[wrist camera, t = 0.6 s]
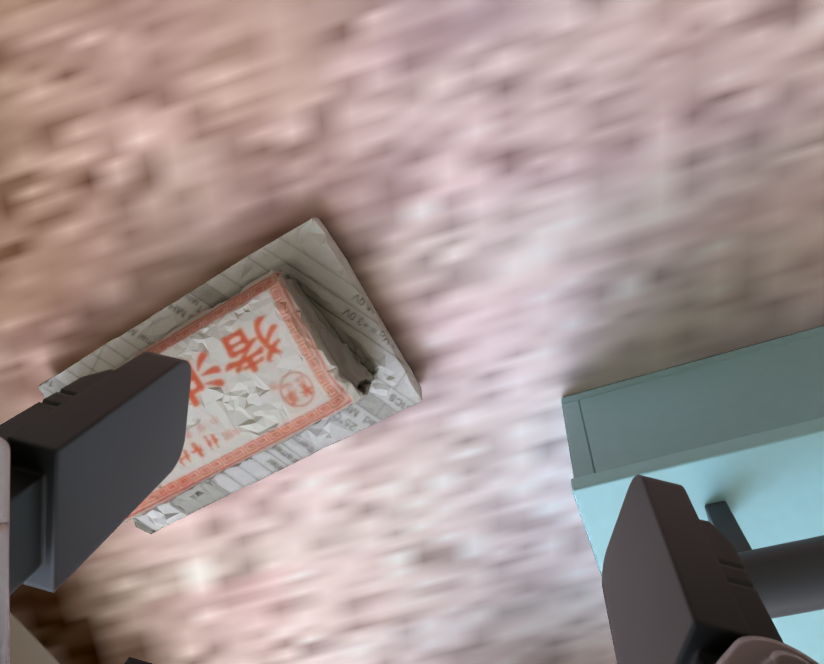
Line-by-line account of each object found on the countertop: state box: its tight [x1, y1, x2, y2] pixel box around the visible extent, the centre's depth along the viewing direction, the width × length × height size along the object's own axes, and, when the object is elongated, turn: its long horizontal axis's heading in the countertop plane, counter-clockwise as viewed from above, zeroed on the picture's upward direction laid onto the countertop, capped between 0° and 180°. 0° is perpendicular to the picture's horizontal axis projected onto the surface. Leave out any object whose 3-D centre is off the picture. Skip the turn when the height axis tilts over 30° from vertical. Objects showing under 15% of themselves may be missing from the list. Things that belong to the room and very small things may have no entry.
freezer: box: [561, 326, 824, 478], centre depth 28 cm, size 16×13×9 cm
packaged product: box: [38, 218, 422, 534], centre depth 32 cm, size 18×5×10 cm
